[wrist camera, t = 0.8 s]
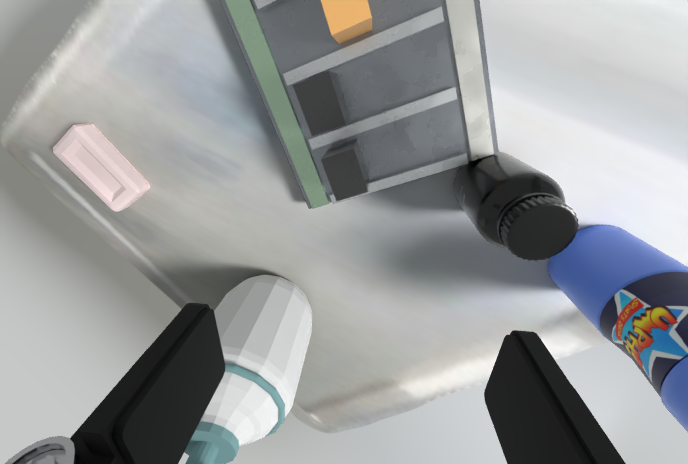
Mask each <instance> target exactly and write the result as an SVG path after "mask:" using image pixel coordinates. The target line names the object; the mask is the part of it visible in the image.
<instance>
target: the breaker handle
mask: <svg viewBox="0 0 688 464" xmlns="http://www.w3.org/2000/svg"><path fill="white" fill-rule="evenodd" d="M321 3H322V6H323V9H324V12H325V16H326V19H327V22H328V25H329V29H330V32H331V35H332V36H333V37H334V39H335V40H336V41H337V42H338V43H339V44H341V43H343V42H345V41H348V40H350V39H352V38H355V37H357V36H359V35H361V34H364V33H366V32H368V31H371V30H373V29H372V16H371V12H370V8H369V4H368V0H321Z"/></svg>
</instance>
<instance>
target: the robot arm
mask: <svg viewBox="0 0 688 464" xmlns="http://www.w3.org/2000/svg"><path fill="white" fill-rule="evenodd" d="M224 373H225V361H224V356H223V351H222V347H221V342H220V337H219V333H218V328H217V323H216V318H215V314H214V311H213V309H210V308H209V306H208V305H207V304H198V303H188V304H187V305H186V306H185V307H184V308H183V309H182V310H181V311H180V312H179V314H178V315H177V316H176V317H175V318H174V320H172V322H171V323H170V324H169V325H168V326H167V327H166V329H165V330H164V331H163V332H162V333H161V334H160V336H159V337H158V338H157V339H156V340H155V341H154V343H153V344H152V345H151V346H150V347H149V348H148V349H147V350H146V351H145V352H144V354H143V355H142V356H141V357H140V358H139V359H138V361H137V362H136V363H135V364H134V365H133V366H132V368H131V369H130V370H129V371H128V372H127V373H126V374H125V376H124V377H123V378H122V379H121V380H120V381H119V382H118V384H117V385H116V386H115V387H114V388H113V389H112V391H111V392H110V393H109V394H108V395H107V396H106V398H105V399H104V400H103V401H102V402H101V403H100V404H99V406H98V407H97V408H96V409H95V410H94V411H93V413H92V414H91V415H90V416H89V417H88V418H87V420H86V421H85V422H84V423H83V424H82V425H81V426H80V428H79V429H78V430H77V431H76V432H75V433H74V434H73V436H72V437H71V438H70V439H69V438H67V437H63V436H57V437H49V438H47V439H44V440H41V441H38V442H36V443H34V444H32V445H30V446H28V447H27V448H25V449H23V450H22V451H20V452H19V453H17V454H16V455H15V456H13V457H12V458H11V459H9V460H8V461H7V462H6V463H5V464H178V463H179V461H180V459H181V457H182V455H183V453H184V451H185V449H186V447H187V445H188V444H189V442H190V440H191V438H192V436H193V434H194V432H195V430H196V428H197V426H198V424H199V422H200V420H201V418H202V417H203V415H204V413H205V411H206V409H207V407H208V405H209V403H210V401H211V399H212V397H213V395H214V393H215V391H216V390H217V388H218V386H219V384H220V382H221V380H222V378H223V376H224ZM484 396H485V402H486V405H487V408H488V411H489V414H490V417H491V419H492V422H493V425H494V428H495V430H496V433H497V436H498V439H499V442H500V444H501V447H502V449H503V453H504V455H505V458H506V461H507V463H508V464H625V462H624V461H623V459H622V458H621V456H620V455H619V453H618V452H617V450H616V449H615V447H614V446H613V444H612V443H611V441H610V440H609V438H608V437H607V435H606V434H605V432H604V431H603V430H602V428H601V427H600V425H599V424H598V422H597V421H596V419H595V418H594V416H593V415H592V413H591V412H590V410H589V409H588V407H587V406H586V404H585V403H584V402H583V400H582V399H581V397H580V396H579V394H578V393H577V391H576V390H575V389H574V388H573V386H572V385H571V384H570V382H569V381H568V379H567V378H566V376H565V375H564V373H563V372H562V370H561V369H560V368H559V366H558V365H557V363H556V361H555V360H554V358H553V357H552V355H551V354H550V353H549V351H548V350H547V348H546V347H545V345H544V344H543V342H542V341H541V339H540V338H539V336H538V335H537V334H536V333H534V332H527V331H516V330H515V331H512V332H511V334H510V335H506V336H505V338H504V341H503V343H502V346H501V349H500V351H499V354H498V357H497V359H496V362H495V365H494V367H493V370H492V373H491V375H490V378H489V381H488V383H487V386H486V389H485V393H484Z"/></svg>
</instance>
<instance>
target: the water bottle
mask: <svg viewBox="0 0 688 464" xmlns="http://www.w3.org/2000/svg"><path fill="white" fill-rule="evenodd" d="M548 272H549V275H550V277H551V278H552V280H553V281H554V282H555V283H556V285H557V286H558V287H559V288H560V289H561V290H562V291H563V292H564V293H565V294H566V296H567V297H568V298H569V299H570V300H571V301H572V302H573V303H574V304H575V305H576V306H577V308H578V309H579V310H580V311H581V312H582V313H583V314H584V315H585V316H586V317H587V318H588V320H589V321H590V322H591V323H592V324H593V325H594V326H595V327H596V328H597V329H598V330H599V331H600V332H601V334H602V335H603V336H605V337H606V338H607V339H608V340H610V341H611V342H612V343H614V344H615V345H616V346H617V347H619V348H620V349H621V350H622V351H623V352H624V353H626V354H627V355H628V356H629V357H630V358H632V360H633V361H634V362H635V364H636V365H637V366H638V368H639V369H640V370H641V372H642V373H643V374H644V376H645V377H646V378H647V380H648V381H649V382H650V384H651V385H652V386H653V387H654V389H655V390H656V391H657V393H658V394H659V396H660V397H661V399H662V402H663V404H664V405H665V407H666V408H667V409H668V411H669V412H670V413H671V414H672V415H673V416H674V417H675V418H676V419H677V421H678V422H679V423H680V424H681V425H682V426H683V427H684V428H685V429H686V431H687V432H688V267H687V266H685V265H683V264H682V263H680V262H678V261H676V260H675V259H673V258H671V257H670V256H668V255H666V254H664V253H663V252H661V251H659V250H658V249H656V248H654V247H652V246H651V245H649V244H647V243H645V242H644V241H642V240H640V239H639V238H637V237H635V236H633V235H632V234H630V233H628V232H627V231H625V230H623V229H621V228H619V227H615V226H611V225H596V226H591V227H586V228H583V229H581V230H578V231H577V233H576V237H575V238H574V239H573V241H572V243H570V244H569V246H568V247H567V248H565V249H564V250H563V251H562V252H560V253H558V254H557V255H555V256H552V257H550V258H549V262H548Z"/></svg>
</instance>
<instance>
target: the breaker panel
mask: <svg viewBox="0 0 688 464" xmlns="http://www.w3.org/2000/svg"><path fill="white" fill-rule="evenodd" d="M220 1H221V3H222V6H223V8H224V10H225V13H226V15H227V17H228V20H229V22H230V24H231V27H232V29H233V31H234V34H235V36H236V38H237V41H238V43H239V46H240V48H241V50H242V53H243V55H244V57H245V60H246V62H247V64H248V67H249V69H250V71H251V74H252V76H253V78H254V81H255V83H256V86H257V88H258V90H259V93H260V95H261V97H262V100H263V102H264V104H265V107H266V109H267V111H268V114H269V116H270V118H271V121H272V123H273V126H274V128H275V130H276V133H277V135H278V137H279V140H280V142H281V144H282V147H283V149H284V151H285V154H286V156H287V159H288V161H289V163H290V166H291V168H292V170H293V173H294V175H295V177H296V180H297V182H298V184H299V187H300V189H301V191H302V194H303V196H304V199H305V201H306V203H307V206H308V208H309V209H310V208H312V209H313V208H317V207H320V206H323V205H327V204H329V203H330V202H332V203H333V204H335V203H338V202H342V201H345V200H348V199H352V198H355V197H358V196H362V195H365V194H368V193H372V192H375V191H378V190H382V189H385V188H388V187H392V186H395V185H399V184H402V183H405V182H409V181H412V180H415V179H419V178H422V177H425V176H429V175H432V174H435V173H439V172H442V171H445V170H449V169H452V168H455V167H459V166H462V165H466V164H468V161H470V160H472V161H473V160H477V159H480V158H483V157H487V156H490V155H493V154H494V153H497V152H498V145H497V137H496V129H495V121H494V113H493V105H492V97H491V89H490V81H489V73H488V65H487V57H486V49H485V41H484V33H483V25H482V17H481V9H480V1H479V0H368V4H369V8H370V12H371V16H372V29H373V30H371V31H368V32H366V33H364V34H361V35H359V36H357V37H355V38H352V39H350V40H348V41H345V42H343V43H341V44H339V43H338V42H337V41H336V40H335V39H334V37H333V36H332V35H331V32H330V29H329V25H328V22H327V19H326V16H325V12H324V9H323V6H322V3H321V0H220Z"/></svg>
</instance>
